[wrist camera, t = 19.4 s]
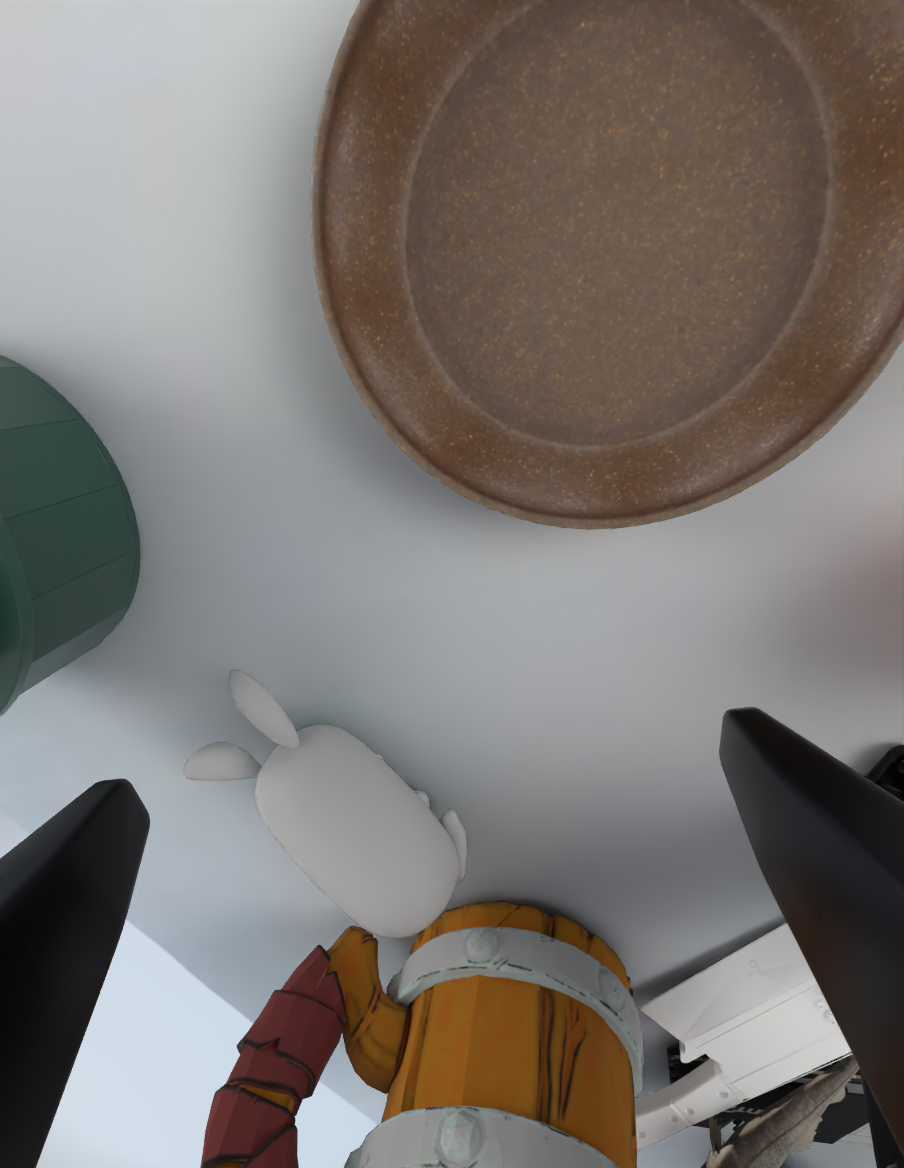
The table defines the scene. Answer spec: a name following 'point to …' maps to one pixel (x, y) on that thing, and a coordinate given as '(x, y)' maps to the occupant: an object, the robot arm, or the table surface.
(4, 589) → the lid
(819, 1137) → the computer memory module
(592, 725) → the table surface
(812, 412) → the saucer
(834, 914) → the robot arm
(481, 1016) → the mug
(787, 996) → the white flat slab
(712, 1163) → the fish
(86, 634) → the dark green flat cylinder
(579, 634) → the table surface
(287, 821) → the rabbit figurine
